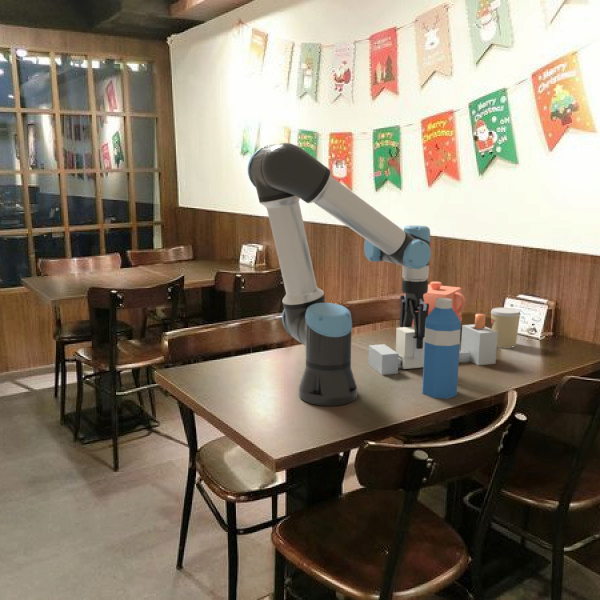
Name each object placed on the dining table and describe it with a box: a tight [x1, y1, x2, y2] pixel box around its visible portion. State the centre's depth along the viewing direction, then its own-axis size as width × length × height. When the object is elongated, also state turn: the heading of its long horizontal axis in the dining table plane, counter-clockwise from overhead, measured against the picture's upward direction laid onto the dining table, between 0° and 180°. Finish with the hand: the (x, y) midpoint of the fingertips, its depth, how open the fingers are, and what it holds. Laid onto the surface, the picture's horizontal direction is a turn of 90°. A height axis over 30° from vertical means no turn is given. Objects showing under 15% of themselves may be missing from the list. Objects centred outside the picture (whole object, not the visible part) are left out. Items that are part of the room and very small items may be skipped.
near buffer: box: [367, 343, 399, 376], centre depth 175 cm, size 5×10×6 cm, turn 16°
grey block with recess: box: [460, 323, 498, 366], centre depth 183 cm, size 6×10×10 cm, turn 16°
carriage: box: [395, 326, 425, 370], centre depth 176 cm, size 8×6×11 cm
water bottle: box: [422, 298, 462, 399], centre depth 154 cm, size 9×9×25 cm
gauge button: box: [474, 313, 487, 329], centre depth 181 cm, size 3×3×4 cm
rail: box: [398, 350, 471, 370], centre depth 179 cm, size 26×2×3 cm, turn 106°
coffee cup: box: [490, 307, 521, 348], centre depth 199 cm, size 9×9×12 cm
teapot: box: [412, 281, 467, 327], centre depth 216 cm, size 25×23×18 cm
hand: (412, 355), depth 177 cm, fingers closed on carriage, 6 cm apart
